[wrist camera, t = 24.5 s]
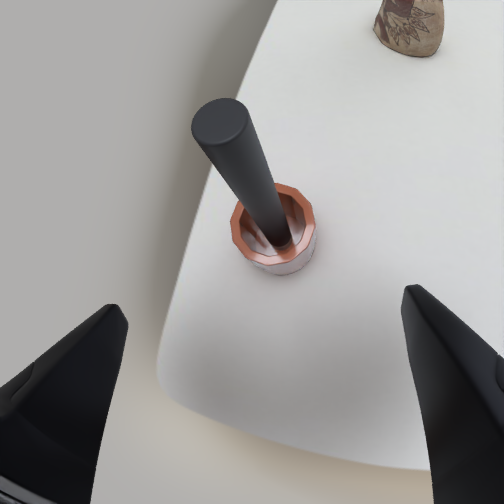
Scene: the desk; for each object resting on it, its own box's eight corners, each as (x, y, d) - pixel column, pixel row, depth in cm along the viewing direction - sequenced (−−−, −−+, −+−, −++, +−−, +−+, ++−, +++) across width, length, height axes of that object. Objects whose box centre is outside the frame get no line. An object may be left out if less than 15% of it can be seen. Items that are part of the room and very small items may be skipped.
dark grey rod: (294, 248, 20) (252, 136, 7) (271, 252, 20) (191, 152, 7) (290, 226, 20) (244, 90, 7) (268, 230, 20) (188, 106, 7)
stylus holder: (319, 268, 20) (321, 256, 15) (255, 279, 20) (236, 271, 16) (307, 206, 21) (305, 176, 16) (246, 218, 21) (226, 192, 17)
